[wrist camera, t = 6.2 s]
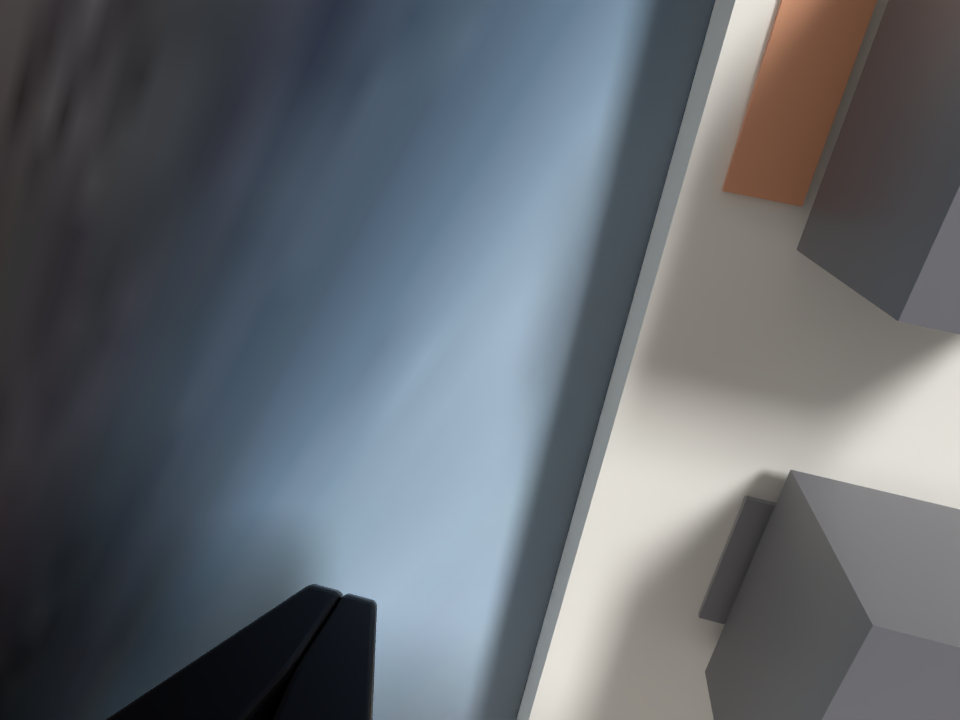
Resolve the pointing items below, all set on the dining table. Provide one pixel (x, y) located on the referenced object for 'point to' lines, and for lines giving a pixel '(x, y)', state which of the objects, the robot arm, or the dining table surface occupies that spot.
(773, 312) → the switch board
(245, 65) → the dining table surface
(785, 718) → the grey block
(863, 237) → the grey plastic block
